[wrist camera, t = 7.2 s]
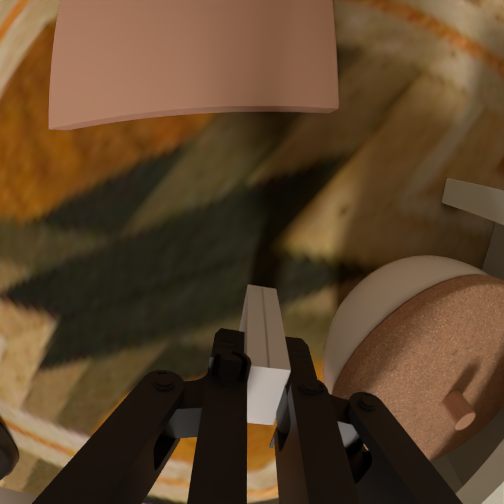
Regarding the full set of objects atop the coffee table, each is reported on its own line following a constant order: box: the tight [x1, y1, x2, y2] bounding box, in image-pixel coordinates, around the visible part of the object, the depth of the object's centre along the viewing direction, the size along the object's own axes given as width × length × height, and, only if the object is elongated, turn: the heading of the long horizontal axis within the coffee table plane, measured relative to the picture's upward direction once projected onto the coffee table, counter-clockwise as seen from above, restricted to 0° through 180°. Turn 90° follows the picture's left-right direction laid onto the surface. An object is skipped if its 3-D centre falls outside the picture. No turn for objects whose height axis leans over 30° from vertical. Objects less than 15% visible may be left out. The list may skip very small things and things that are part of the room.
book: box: [49, 0, 339, 130], centre depth 13 cm, size 14×10×2 cm
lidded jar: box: [322, 255, 504, 461], centre depth 14 cm, size 11×11×9 cm
